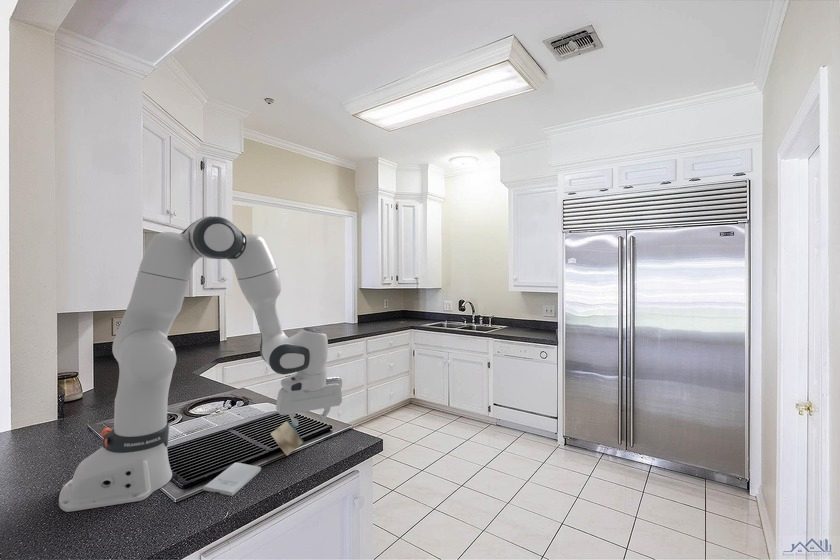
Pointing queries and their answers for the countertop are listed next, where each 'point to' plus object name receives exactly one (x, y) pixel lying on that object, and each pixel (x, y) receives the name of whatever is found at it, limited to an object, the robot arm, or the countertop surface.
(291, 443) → the maple cube
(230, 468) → the external hard drive
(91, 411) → the countertop surface
